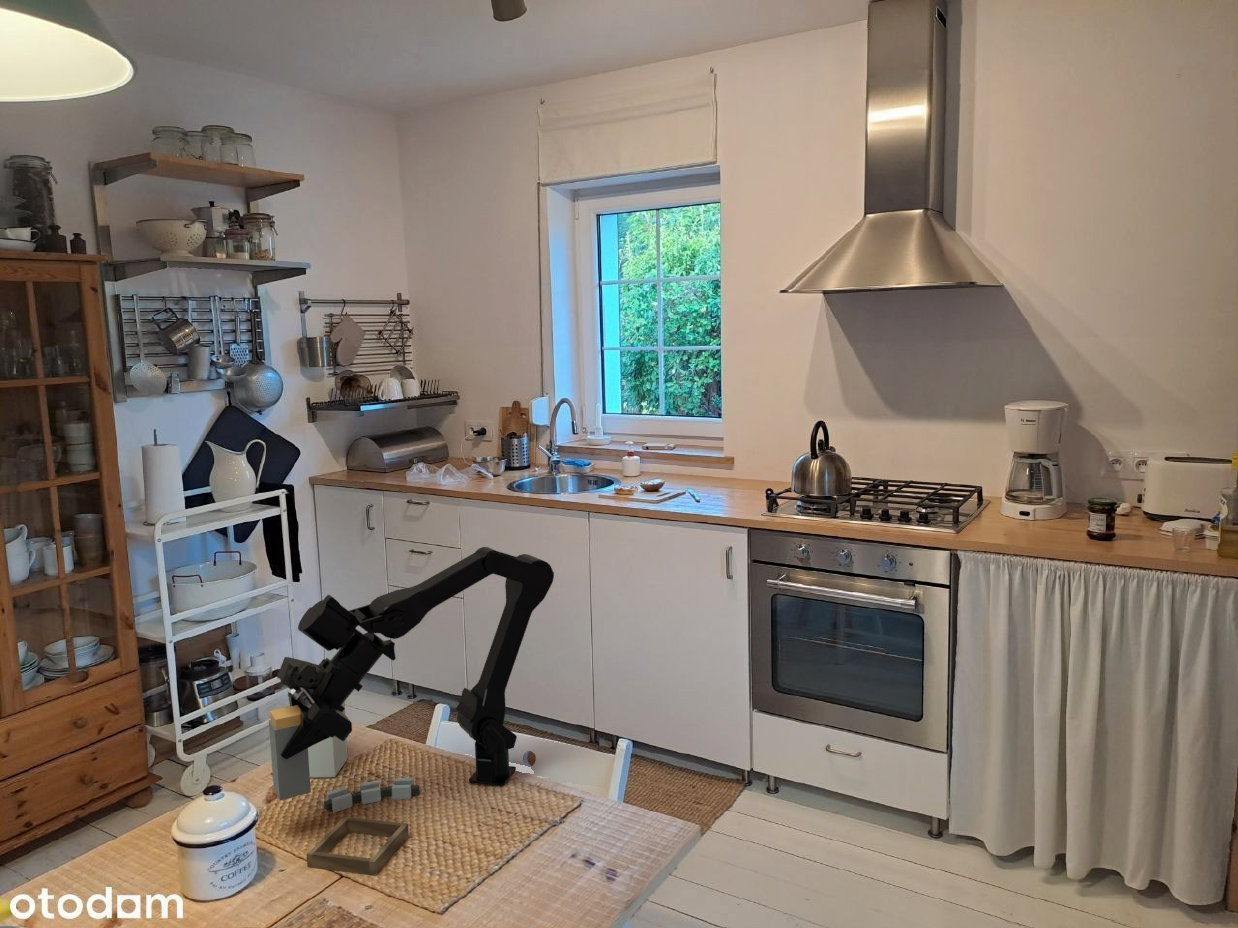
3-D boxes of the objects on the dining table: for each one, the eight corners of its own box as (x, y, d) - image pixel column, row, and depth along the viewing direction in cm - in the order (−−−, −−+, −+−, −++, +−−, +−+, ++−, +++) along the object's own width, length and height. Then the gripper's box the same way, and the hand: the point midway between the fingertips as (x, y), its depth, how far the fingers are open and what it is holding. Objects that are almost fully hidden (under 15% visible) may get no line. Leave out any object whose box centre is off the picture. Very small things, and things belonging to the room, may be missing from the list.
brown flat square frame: (345, 828, 139) (344, 816, 139) (408, 835, 137) (408, 823, 136) (307, 866, 129) (306, 853, 129) (375, 875, 126) (374, 861, 126)
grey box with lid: (303, 780, 140) (298, 704, 139) (310, 792, 137) (305, 713, 135) (273, 788, 138) (267, 710, 136) (279, 800, 134) (274, 720, 133)
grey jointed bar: (323, 801, 148) (323, 789, 147) (417, 784, 153) (416, 773, 153) (324, 814, 144) (324, 802, 143) (421, 796, 149) (420, 785, 148)
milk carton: (335, 778, 156) (329, 672, 153) (294, 778, 156) (287, 673, 154) (348, 759, 163) (342, 658, 161) (309, 759, 163) (303, 658, 161)
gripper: (295, 622, 144) (226, 704, 140) (324, 654, 129) (248, 747, 124) (347, 660, 149) (282, 739, 145) (382, 695, 134) (310, 785, 129)
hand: (280, 751), depth 136 cm, fingers closed on grey box with lid, 4 cm apart
